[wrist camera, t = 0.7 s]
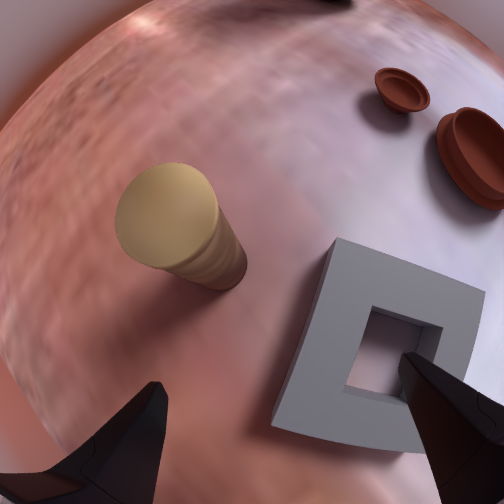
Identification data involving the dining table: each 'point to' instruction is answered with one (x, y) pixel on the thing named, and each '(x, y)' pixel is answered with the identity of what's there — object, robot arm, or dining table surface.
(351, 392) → the socket block
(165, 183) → the tan wooden cylinder
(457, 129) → the pottery
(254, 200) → the dining table surface
